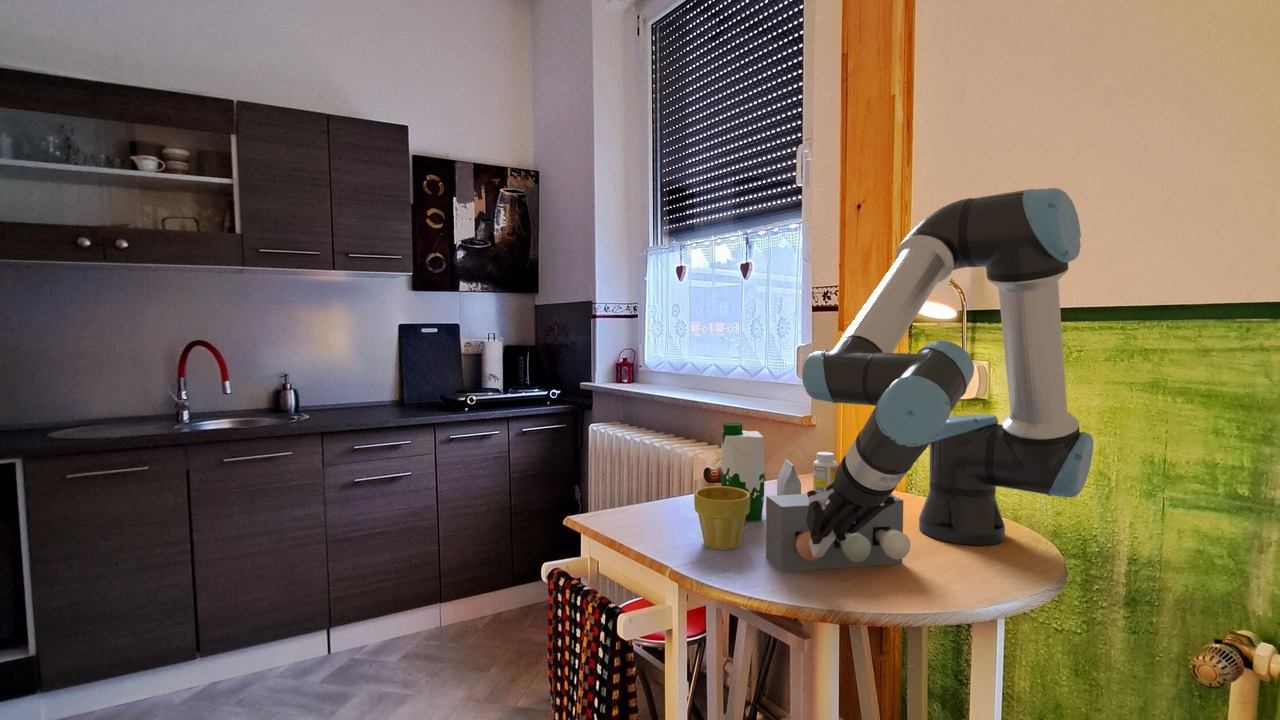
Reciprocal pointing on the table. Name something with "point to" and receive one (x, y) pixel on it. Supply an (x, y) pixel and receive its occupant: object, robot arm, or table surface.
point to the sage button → (855, 547)
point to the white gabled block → (788, 480)
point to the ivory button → (892, 542)
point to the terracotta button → (804, 545)
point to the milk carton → (744, 465)
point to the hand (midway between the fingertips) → (815, 549)
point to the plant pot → (722, 515)
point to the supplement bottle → (823, 471)
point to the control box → (791, 517)
